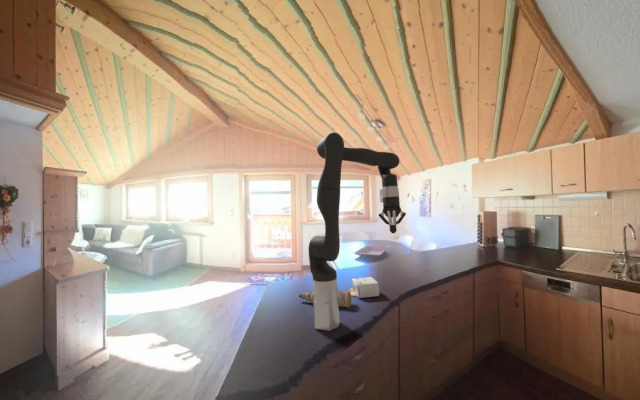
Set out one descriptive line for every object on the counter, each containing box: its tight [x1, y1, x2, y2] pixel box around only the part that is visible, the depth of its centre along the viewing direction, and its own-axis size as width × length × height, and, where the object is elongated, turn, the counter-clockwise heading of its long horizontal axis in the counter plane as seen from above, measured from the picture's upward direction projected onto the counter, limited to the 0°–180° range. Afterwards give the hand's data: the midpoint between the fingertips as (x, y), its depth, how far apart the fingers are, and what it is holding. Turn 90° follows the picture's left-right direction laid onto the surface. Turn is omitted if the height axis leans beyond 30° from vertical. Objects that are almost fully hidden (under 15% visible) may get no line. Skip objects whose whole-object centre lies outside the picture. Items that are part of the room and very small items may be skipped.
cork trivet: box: [348, 287, 358, 298], centre depth 122 cm, size 12×10×1 cm
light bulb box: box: [351, 276, 380, 299], centre depth 119 cm, size 11×7×11 cm
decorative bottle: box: [298, 290, 352, 309], centre depth 110 cm, size 26×8×7 cm, turn 66°
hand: (393, 233), depth 111 cm, fingers closed
